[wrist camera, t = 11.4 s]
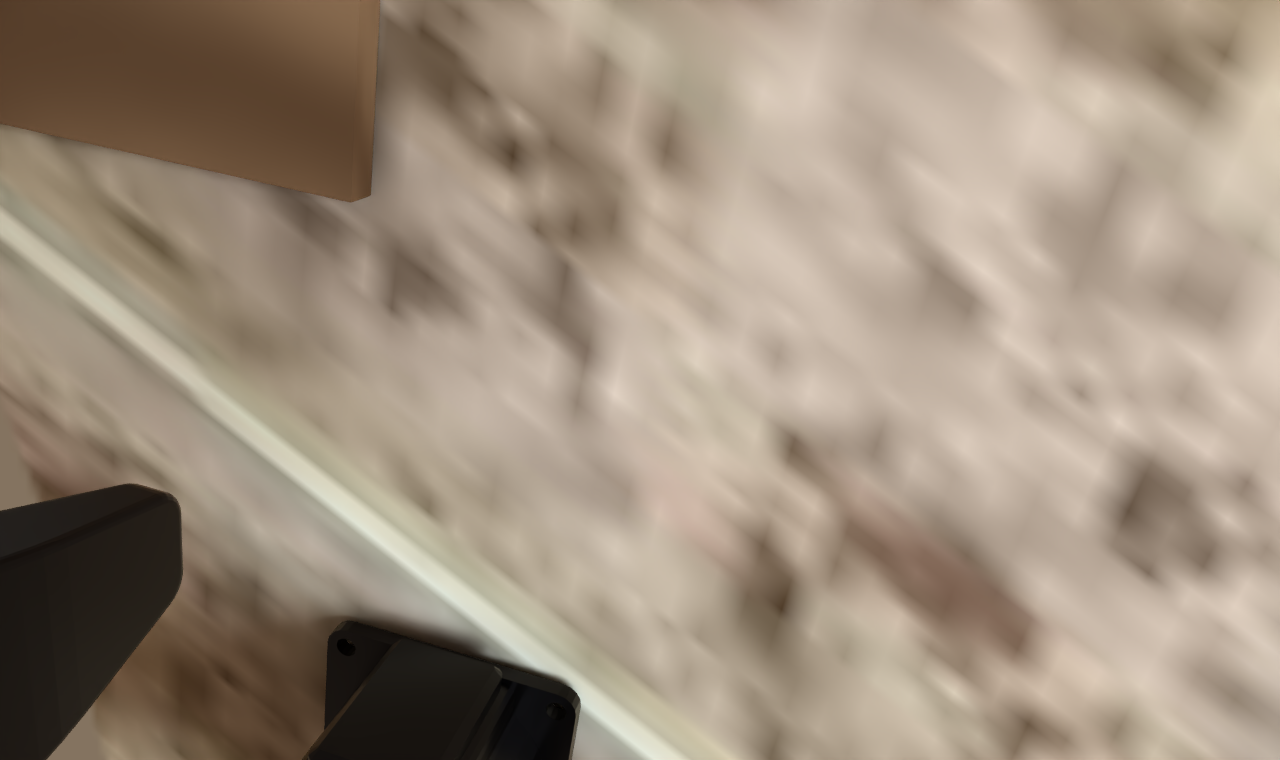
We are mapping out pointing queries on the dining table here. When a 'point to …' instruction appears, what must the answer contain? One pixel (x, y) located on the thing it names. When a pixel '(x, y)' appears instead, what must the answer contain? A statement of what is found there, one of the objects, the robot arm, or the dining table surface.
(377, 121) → the dining table surface
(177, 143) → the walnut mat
